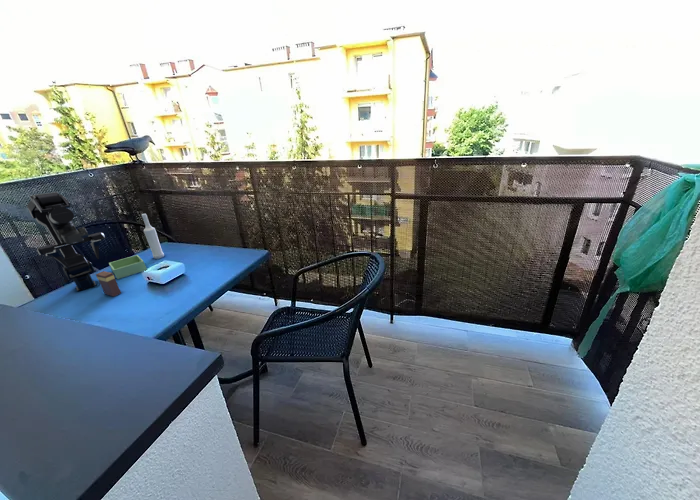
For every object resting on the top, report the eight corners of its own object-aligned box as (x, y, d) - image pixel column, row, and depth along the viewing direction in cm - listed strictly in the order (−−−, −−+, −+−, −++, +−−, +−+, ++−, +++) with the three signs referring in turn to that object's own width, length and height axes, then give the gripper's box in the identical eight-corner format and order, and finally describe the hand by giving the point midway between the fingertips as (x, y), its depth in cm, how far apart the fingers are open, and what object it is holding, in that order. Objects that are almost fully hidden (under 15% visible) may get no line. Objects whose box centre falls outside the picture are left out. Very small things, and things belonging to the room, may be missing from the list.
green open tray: (112, 271, 138) (108, 262, 136) (140, 263, 146) (137, 254, 144) (117, 279, 130) (113, 270, 128) (147, 269, 138) (143, 261, 136)
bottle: (160, 258, 150) (145, 215, 140) (151, 259, 150) (135, 215, 140) (166, 254, 155) (151, 212, 144) (157, 255, 155) (142, 212, 145)
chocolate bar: (104, 294, 118) (95, 274, 114) (112, 290, 121) (103, 270, 116) (113, 296, 116) (104, 276, 112) (121, 293, 118) (112, 273, 114)
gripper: (28, 231, 91) (53, 273, 95) (98, 216, 105) (117, 254, 109) (27, 234, 98) (50, 273, 102) (92, 220, 112) (111, 255, 116)
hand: (84, 263), depth 107 cm, fingers open, 9 cm apart
